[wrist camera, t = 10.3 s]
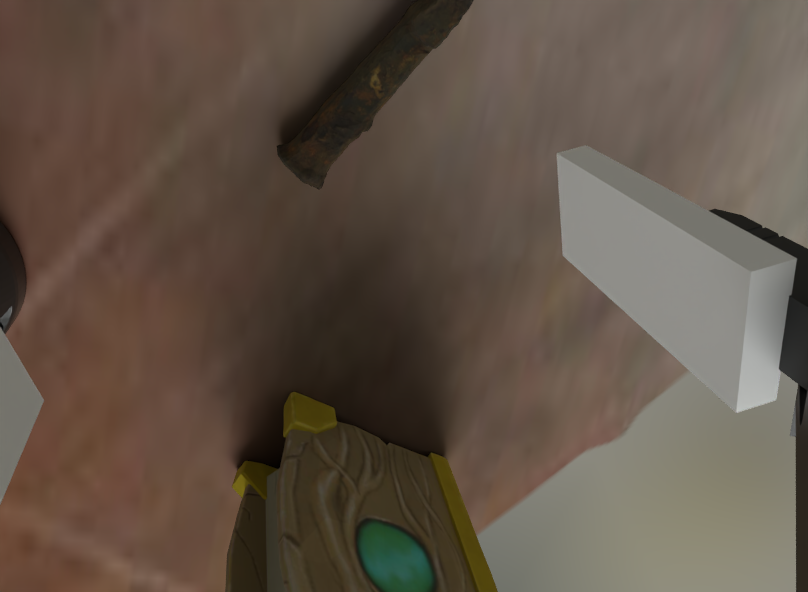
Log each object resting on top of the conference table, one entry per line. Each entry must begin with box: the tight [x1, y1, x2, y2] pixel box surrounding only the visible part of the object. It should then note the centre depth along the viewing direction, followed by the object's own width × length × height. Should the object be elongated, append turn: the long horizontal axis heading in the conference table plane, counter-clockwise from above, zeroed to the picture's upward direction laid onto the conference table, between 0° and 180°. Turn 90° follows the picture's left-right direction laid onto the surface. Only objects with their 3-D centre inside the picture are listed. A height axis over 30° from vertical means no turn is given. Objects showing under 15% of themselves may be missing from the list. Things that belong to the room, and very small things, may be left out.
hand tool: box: [277, 0, 473, 189], centre depth 45 cm, size 19×4×5 cm, turn 133°
